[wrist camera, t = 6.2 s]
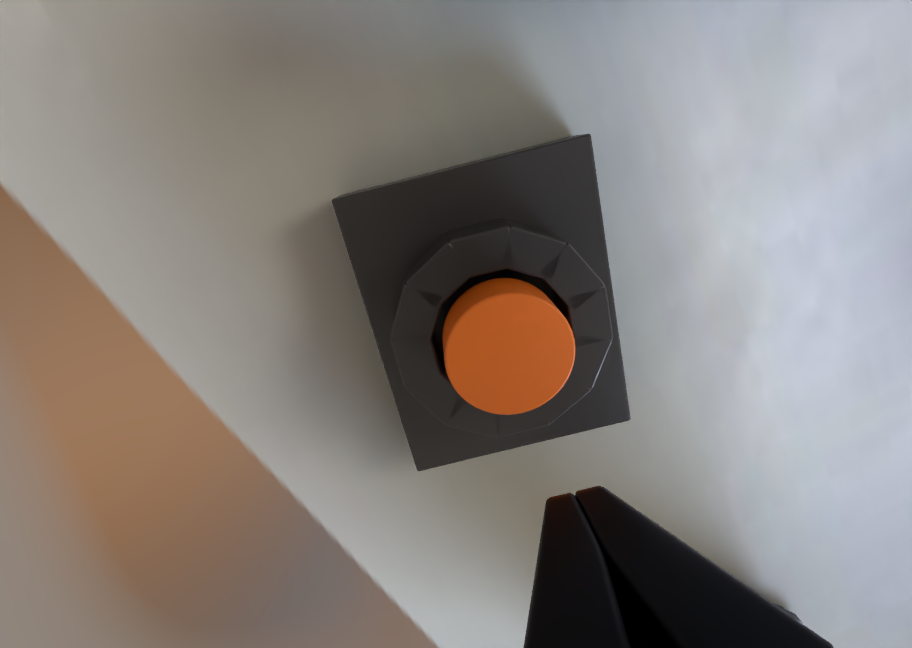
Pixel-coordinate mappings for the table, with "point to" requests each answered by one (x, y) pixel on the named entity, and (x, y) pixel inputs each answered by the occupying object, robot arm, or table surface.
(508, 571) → the table surface
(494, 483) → the table surface
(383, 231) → the button block
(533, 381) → the button
